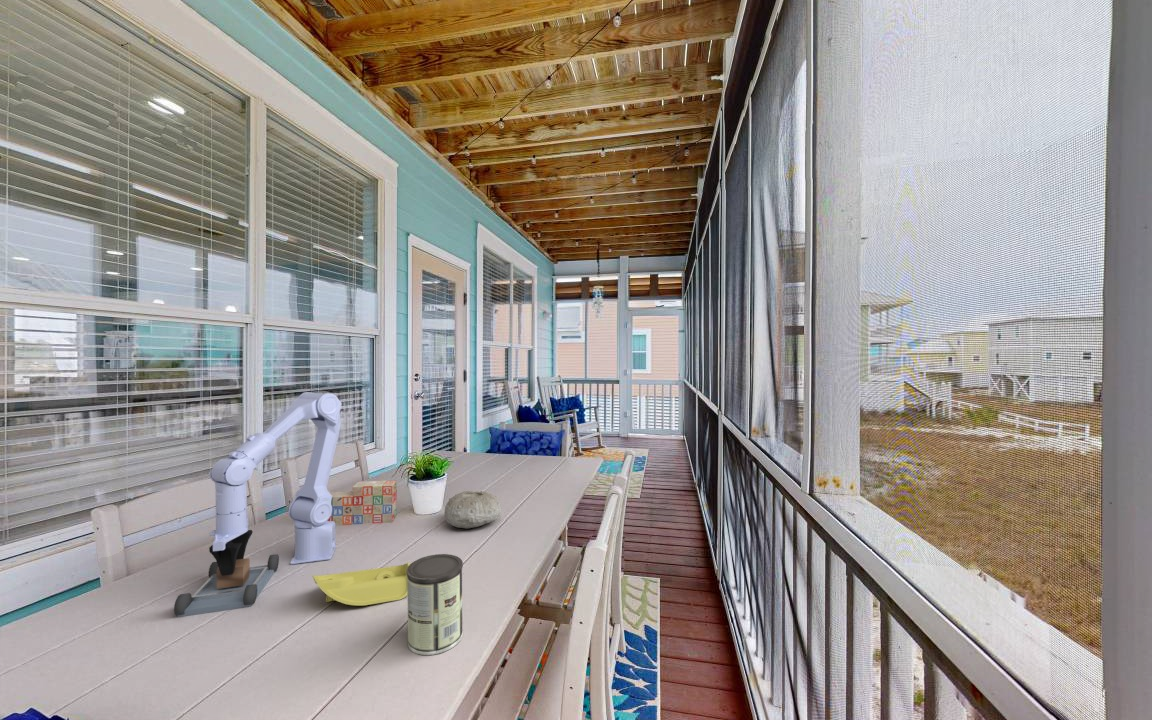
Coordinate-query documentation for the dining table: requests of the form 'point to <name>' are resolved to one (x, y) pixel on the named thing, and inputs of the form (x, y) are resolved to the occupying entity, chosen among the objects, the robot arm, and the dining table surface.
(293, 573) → the dining table surface
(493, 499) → the grey rounded lump
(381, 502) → the stack of blocks
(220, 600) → the chassis
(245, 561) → the engine block
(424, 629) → the coffee can
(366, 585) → the plastic component
